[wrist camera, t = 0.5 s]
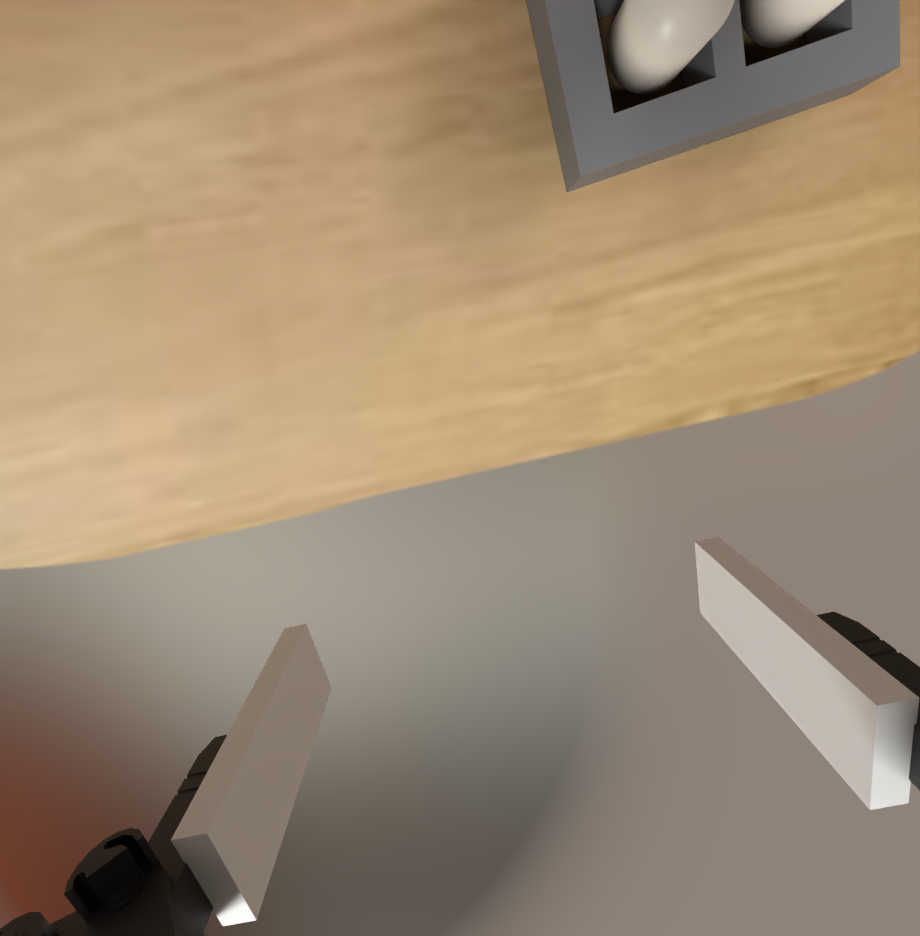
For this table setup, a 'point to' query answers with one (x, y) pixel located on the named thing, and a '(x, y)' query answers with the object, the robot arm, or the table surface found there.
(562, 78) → the board
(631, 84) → the button
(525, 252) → the table surface
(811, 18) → the button
